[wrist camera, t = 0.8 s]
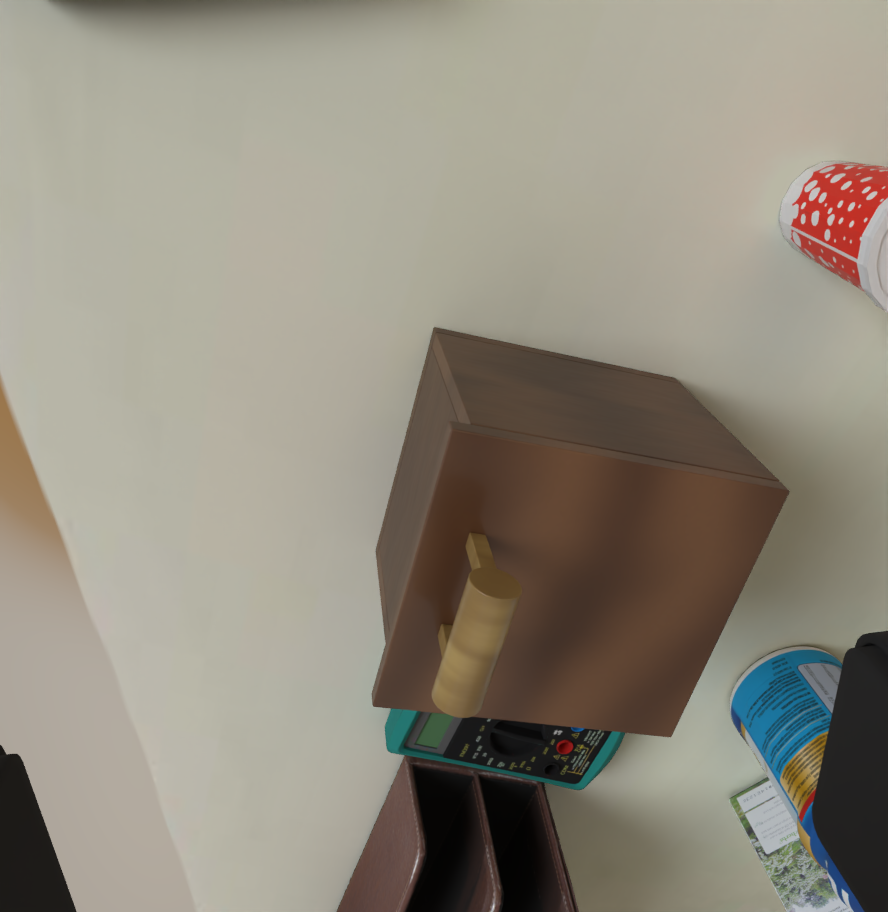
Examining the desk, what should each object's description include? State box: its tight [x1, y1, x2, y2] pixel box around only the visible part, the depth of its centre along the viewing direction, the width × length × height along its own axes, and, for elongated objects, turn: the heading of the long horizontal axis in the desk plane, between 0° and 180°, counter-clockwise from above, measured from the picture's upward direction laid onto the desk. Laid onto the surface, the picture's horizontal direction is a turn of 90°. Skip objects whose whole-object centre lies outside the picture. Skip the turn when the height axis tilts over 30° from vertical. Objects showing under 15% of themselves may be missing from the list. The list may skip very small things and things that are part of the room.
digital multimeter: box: [385, 709, 625, 790], centre depth 54 cm, size 7×15×3 cm, turn 67°
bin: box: [376, 328, 779, 642], centre depth 42 cm, size 14×14×12 cm
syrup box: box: [729, 778, 853, 912], centre depth 56 cm, size 6×6×14 cm
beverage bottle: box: [730, 646, 864, 912], centre depth 49 cm, size 8×8×20 cm
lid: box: [372, 421, 789, 737], centre depth 34 cm, size 14×14×6 cm
